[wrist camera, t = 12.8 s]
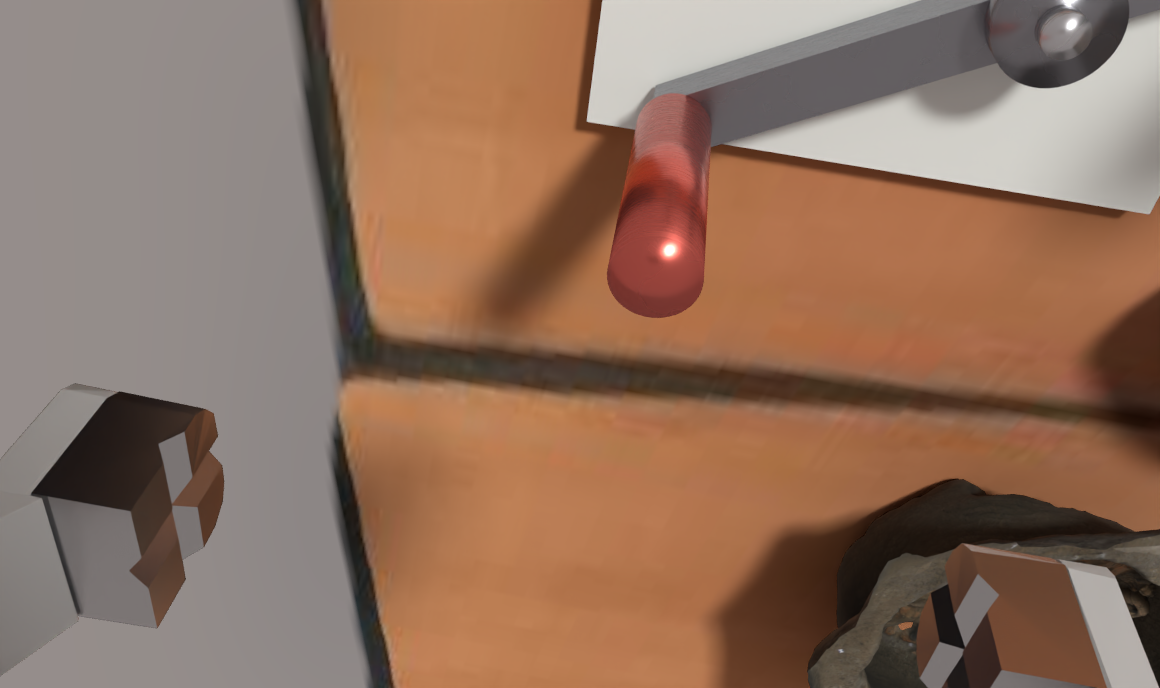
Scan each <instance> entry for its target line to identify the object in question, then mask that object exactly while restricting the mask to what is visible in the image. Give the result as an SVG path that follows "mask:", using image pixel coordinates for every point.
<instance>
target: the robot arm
mask: <svg viewBox="0 0 1160 688" xmlns="http://www.w3.org/2000/svg"><path fill="white" fill-rule="evenodd" d="M217 437H218V434H217V428H216V423H215V418H214V414H213V413H212V412H210V411H208V410H206V409H203V408H198V407H193V406H188V405H184V404H179V403H174V402H169V401H163V400H159V399H154V398H149V397H144V396H139V395H134V394H129V393H125V392H115V391H110V390H105V389H100V388H96V387H91V386H86V385H81V384H76V383H75V384H73V385H70V386H68V387H66V388H64V389H62V390H61V391H60V392H58V394H57V395H56V396H55V397H54V398H53V399H52V401H51V402H50V403H49V404H48V405H47V406H46V407H45V408H44V410H43V411H42V412H41V413H40V414H39V415H38V417H37V418H36V419H35V420H34V421H33V422H32V423H31V425H30V426H29V427H28V428H27V429H26V430H25V432H24V433H23V434H22V435H21V436H20V437H19V438H18V440H17V441H16V442H15V443H14V444H13V445H12V446H11V448H10V449H9V450H8V451H7V452H6V453H5V454H4V456H3V457H2V458H1V459H0V676H1V675H3V674H4V673H6V672H7V671H8V670H10V669H11V668H13V667H14V666H15V665H17V664H18V663H20V662H21V661H23V660H24V659H25V658H27V657H28V656H30V655H31V654H32V653H34V652H35V651H37V650H38V649H40V648H41V647H42V646H44V645H45V644H46V643H48V642H49V641H51V640H52V639H54V638H55V637H56V636H58V635H59V634H61V633H62V632H63V631H65V630H66V629H68V628H69V627H70V626H72V625H73V624H75V623H76V622H78V620H79V618H78V616H81V617H87V618H94V619H100V620H107V621H113V622H119V623H126V624H133V625H138V626H145V627H151V628H158V626H159V625H160V623H161V621H162V619H163V618H164V616H165V614H166V613H167V611H168V609H169V607H170V606H171V604H172V602H173V600H174V599H175V597H176V595H177V593H178V591H179V590H180V588H181V586H182V585H183V583H184V581H185V579H186V578H185V572H184V567H183V561H182V560H183V559H184V558H186V557H188V556H190V555H191V554H193V553H195V552H196V551H198V550H200V549H202V548H203V547H204V546H205V544H206V542H207V541H208V538H209V537H210V535H211V533H212V531H213V529H214V527H215V525H216V522H217V518H218V515H219V512H220V508H221V505H222V502H223V491H224V476H223V468H222V465H221V464H220V462H218V460H217V459H216V458H215V457H214V456H213V455H212V454H211V453H210V451H209V450H210V448H211V447H212V445H213V443H214V442H215V440H216V438H217ZM945 571H946V576H947V581H948V584H947V585H945V586H943V587H941V588H939V589H937V590H935V591H933V592H932V593H930V595H929V597H928V600H927V602H926V604H925V606H924V608H923V610H922V612H921V616H920V622H919V627H918V632H917V663H918V669H919V676H920V679H921V680H922V681H923V683H924V684H925V685H926V686H927V687H928V688H1159V686H1158V684H1157V681H1156V679H1155V676H1154V674H1153V671H1152V669H1151V666H1150V663H1149V661H1148V658H1147V656H1146V653H1145V651H1144V648H1143V646H1142V643H1141V641H1140V638H1139V636H1138V633H1137V631H1136V628H1135V625H1134V623H1133V620H1132V618H1131V615H1130V613H1129V610H1128V608H1127V605H1126V603H1125V600H1124V598H1123V595H1122V593H1121V590H1120V588H1119V585H1118V582H1117V580H1116V578H1115V576H1114V575H1113V574H1112V573H1111V572H1110V571H1109V570H1108V568H1107V567H1101V566H1095V565H1089V564H1083V563H1077V562H1071V561H1065V560H1059V559H1058V560H1054V559H1052V558H1047V557H1041V556H1035V555H1029V554H1023V553H1017V552H1012V551H1006V550H1000V549H994V548H988V547H982V546H976V545H970V544H964V543H962V544H960V545H959V546H958V547H957V548H956V549H954V550H953V552H952V553H951V555H950V557H949V559H948V561H947V563H946V564H945Z"/></svg>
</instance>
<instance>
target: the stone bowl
mask: <svg viewBox="0 0 1160 688" xmlns="http://www.w3.org/2000/svg"><path fill="white" fill-rule="evenodd" d="M962 543H964V544H970V545H976V546H982V547H988V548H994V549H1000V550H1006V551H1012V552H1017V553H1023V554H1029V555H1035V556H1041V557H1047V558H1052V559H1054V560H1058V559H1059V560H1065V561H1071V562H1077V563H1083V564H1089V565H1095V566H1101V567H1107V568H1108V570H1109V571H1110V572H1111V573H1112V574H1113V575H1114V576H1115V578H1116V580H1117V582H1118V585H1119V588H1120V590H1121V593H1122V595H1123V598H1124V600H1125V603H1126V605H1127V608H1128V610H1129V613H1130V615H1131V618H1132V620H1133V623H1134V625H1135V628H1136V631H1137V633H1138V636H1139V638H1140V641H1141V643H1142V646H1143V648H1144V651H1145V653H1146V656H1147V658H1148V661H1149V663H1150V666H1151V669H1152V671H1153V674H1154V676H1155V679H1156V681H1157V684H1158V686H1159V688H1160V529H1159V530H1149V531H1139V532H1134V531H1132V530H1131V529H1128V528H1126V527H1124V526H1122V525H1120V524H1118V523H1117V522H1114V521H1111V520H1108V519H1104V518H1101V517H1097V516H1095V515H1093V514H1090V513H1088V512H1086V511H1078V510H1076V509H1074V508H1058V507H1055V506H1053V505H1052V504H1050V503H1047V502H1043V501H1040V500H1037V499H1034V498H1030V497H1027V496H1023V495H1016V494H1008V495H986V494H985V492H984V491H983V490H981V489H980V488H978V487H977V486H975V485H973V484H971V483H969V482H968V481H966V480H964V479H961V480H952V481H949V482H946V483H944V484H941V485H939V486H937V487H935V488H934V489H932V490H931V491H929V492H928V493H926V494H925V495H923V496H921V497H918V498H913V499H911V500H910V501H908V502H907V503H905V504H903V505H902V506H900V507H899V508H896V509H894V510H891V511H889V512H888V513H886V514H884V515H883V516H881V517H879V518H877V519H875V521H874V522H873V523H872V524H871V525H870V527H869V528H868V530H867V532H866V533H865V535H864V536H863V537H861V538H860V539H858V540H857V541H856V542H855V543H853V544H852V545H851V547H850V548H849V549H848V550H847V552H846V553H845V555H844V558H843V560H842V563H841V565H840V568H839V570H838V574H837V625H838V628H837V629H835V630H834V631H833V632H832V633H830V634H829V635H828V636H827V637H826V638H825V639H824V640H822V641H821V642H820V644H819V645H818V646H817V647H816V648H815V649H814V652H813V654H812V657H811V659H810V661H809V663H808V671H807V672H808V681H809V685H810V688H928V687H927V686H926V685H925V684H924V683H923V681H922V680H921V679H920V676H919V669H918V663H917V632H918V627H919V622H920V616H921V612H922V610H923V608H924V606H925V604H926V602H927V600H928V597H929V595H930V593H932V592H933V591H935V590H937V589H939V588H941V587H943V586H945V585H947V584H948V581H947V576H946V571H945V564H946V563H947V561H948V559H949V557H950V555H951V553H952V552H953V550H954V549H956V548H957V547H958V546H959V545H960V544H962ZM904 622H913V625H912V627H911V628H907V629H905V630H901V629H900V628H899V626H898V624H901V623H904Z"/></svg>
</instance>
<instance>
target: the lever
mask: <svg viewBox="0 0 1160 688" xmlns="http://www.w3.org/2000/svg"><path fill="white" fill-rule="evenodd" d="M1157 10H1160V0H920V1H917V2H914V3H911V4H908V5H905V6H902V7H898V8H895V9H892V10H889V11H886V12H883V13H880V14H877V15H873V16H870V17H867V18H864V19H861V20H858V21H855V22H852V23H848V24H845V25H842V26H839V27H836V28H833V29H830V30H827V31H823V32H820V33H817V34H814V35H811V36H808V37H805V38H802V39H799V40H795V41H792V42H789V43H786V44H783V45H780V46H777V47H774V48H770V49H767V50H764V51H761V52H758V53H755V54H752V55H749V56H745V57H742V58H739V59H736V60H733V61H730V62H727V63H724V64H720V65H717V66H714V67H711V68H708V69H705V70H702V71H699V72H695V73H692V74H689V75H686V76H683V77H680V78H677V79H674V80H670V81H667V82H664V83H661V84H658V85H656V86H655V92H654V98H653V99H652V100H651V101H650V102H648V103H647V104H646V105H645V106H644V108H643V109H642V110H641V112H640V114H639V116H638V119H637V123H636V128H635V133H634V139H633V144H632V149H631V154H630V159H629V164H628V169H627V174H626V179H625V184H624V189H623V194H622V199H621V204H620V209H619V214H618V219H617V224H616V230H615V235H614V240H613V245H612V250H611V255H610V260H609V265H608V271H607V280H608V285H609V288H610V291H611V292H612V294H613V296H614V297H615V299H616V300H617V301H618V302H619V303H620V304H621V305H622V306H623V307H625V308H626V309H628V310H629V311H631V312H633V313H636V314H638V315H642V316H645V317H652V318H661V317H669V316H673V315H676V314H678V313H681V312H682V311H684V310H686V309H687V308H689V307H690V306H691V305H692V304H693V303H694V302H695V301H696V299H697V298H698V297H699V295H700V293H701V290H702V287H703V282H704V263H705V244H706V225H707V207H708V188H709V169H710V150H711V147H713V146H717V145H720V144H723V143H727V142H730V141H734V140H737V139H740V138H744V137H747V136H751V135H754V134H757V133H761V132H764V131H768V130H771V129H774V128H778V127H781V126H785V125H788V124H791V123H795V122H798V121H802V120H805V119H808V118H812V117H815V116H819V115H822V114H825V113H829V112H832V111H836V110H839V109H842V108H846V107H849V106H853V105H856V104H859V103H863V102H866V101H870V100H873V99H876V98H880V97H883V96H887V95H890V94H893V93H897V92H900V91H904V90H907V89H910V88H914V87H917V86H921V85H924V84H927V83H931V82H934V81H938V80H941V79H944V78H948V77H951V76H955V75H958V74H961V73H965V72H968V71H972V70H975V69H978V68H982V67H985V66H989V65H992V64H995V63H998V65H999V67H1000V68H1001V69H1002V70H1003V72H1004V73H1005V74H1006V75H1008V76H1009V77H1010V78H1011V79H1013V80H1015V81H1016V82H1018V83H1020V84H1023V85H1026V86H1029V87H1034V88H1056V87H1061V86H1066V85H1069V84H1072V83H1075V82H1077V81H1079V80H1081V79H1083V78H1085V77H1087V76H1089V75H1090V74H1092V73H1093V72H1095V71H1096V70H1097V69H1099V68H1100V67H1101V66H1102V65H1103V64H1104V63H1105V62H1106V61H1107V60H1108V59H1109V58H1110V57H1111V56H1112V55H1113V53H1114V52H1115V51H1116V49H1117V48H1118V46H1119V45H1120V43H1121V41H1122V39H1123V37H1124V34H1125V32H1126V29H1127V25H1128V21H1129V19H1130V18H1133V17H1136V16H1140V15H1143V14H1147V13H1150V12H1153V11H1157Z"/></svg>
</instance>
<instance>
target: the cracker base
mask: <svg viewBox="0 0 1160 688" xmlns="http://www.w3.org/2000/svg"><path fill="white" fill-rule="evenodd" d="M917 1H920V0H602V7H601V15H600V22H599V30H598V38H597V46H596V53H595V61H594V69H593V76H592V84H591V92H590V99H589V107H588V115H587V122H592V123H598V124H604V125H610V126H616V127H622V128H628V129H634V130H635V128H636V123H637V119H638V116H639V114H640V112H641V110H642V109H643V108H644V106H645V105H646V104H647V103H648V102H650V101H651V100H652V99H653V98H654V92H655V86H656V85H658V84H661V83H664V82H667V81H670V80H674V79H677V78H680V77H683V76H686V75H689V74H692V73H695V72H699V71H702V70H705V69H708V68H711V67H714V66H717V65H720V64H724V63H727V62H730V61H733V60H736V59H739V58H742V57H745V56H749V55H752V54H755V53H758V52H761V51H764V50H767V49H770V48H774V47H777V46H780V45H783V44H786V43H789V42H792V41H795V40H799V39H802V38H805V37H808V36H811V35H814V34H817V33H820V32H823V31H827V30H830V29H833V28H836V27H839V26H842V25H845V24H848V23H852V22H855V21H858V20H861V19H864V18H867V17H870V16H873V15H877V14H880V13H883V12H886V11H889V10H892V9H895V8H898V7H902V6H905V5H908V4H911V3H914V2H917ZM723 144H725V145H731V146H737V147H743V148H749V149H756V150H762V151H768V152H774V153H780V154H786V155H792V156H798V157H804V158H810V159H816V160H822V161H828V162H834V163H840V164H847V165H853V166H859V167H865V168H871V169H877V170H883V171H889V172H895V173H901V174H907V175H913V176H919V177H925V178H932V179H938V180H944V181H950V182H956V183H962V184H968V185H974V186H980V187H986V188H992V189H998V190H1004V191H1010V192H1016V193H1023V194H1029V195H1035V196H1041V197H1047V198H1053V199H1059V200H1065V201H1071V202H1077V203H1083V204H1089V205H1095V206H1101V207H1108V208H1114V209H1120V210H1126V211H1132V212H1138V213H1144V214H1150V213H1151V211H1152V209H1153V207H1154V205H1155V203H1156V201H1157V199H1158V198H1159V196H1160V10H1157V11H1153V12H1150V13H1147V14H1143V15H1140V16H1136V17H1133V18H1130V19H1129V21H1128V25H1127V29H1126V32H1125V34H1124V37H1123V39H1122V41H1121V43H1120V45H1119V46H1118V48H1117V49H1116V51H1115V52H1114V53H1113V55H1112V56H1111V57H1110V58H1109V59H1108V60H1107V61H1106V62H1105V63H1104V64H1103V65H1102V66H1101V67H1100V68H1099V69H1097V70H1096V71H1095V72H1093V73H1092V74H1090V75H1089V76H1087V77H1085V78H1083V79H1081V80H1079V81H1077V82H1075V83H1072V84H1069V85H1066V86H1061V87H1056V88H1034V87H1029V86H1026V85H1023V84H1020V83H1018V82H1016V81H1015V80H1013V79H1011V78H1010V77H1009V76H1008V75H1006V74H1005V73H1004V72H1003V70H1002V69H1001V68H1000V67H999V65H998V63H995V64H992V65H989V66H985V67H982V68H978V69H975V70H972V71H968V72H965V73H961V74H958V75H955V76H951V77H948V78H944V79H941V80H938V81H934V82H931V83H927V84H924V85H921V86H917V87H914V88H910V89H907V90H904V91H900V92H897V93H893V94H890V95H887V96H883V97H880V98H876V99H873V100H870V101H866V102H863V103H859V104H856V105H853V106H849V107H846V108H842V109H839V110H836V111H832V112H829V113H825V114H822V115H819V116H815V117H812V118H808V119H805V120H802V121H798V122H795V123H791V124H788V125H785V126H781V127H778V128H774V129H771V130H768V131H764V132H761V133H757V134H754V135H751V136H747V137H744V138H740V139H737V140H734V141H730V142H727V143H723Z"/></svg>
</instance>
